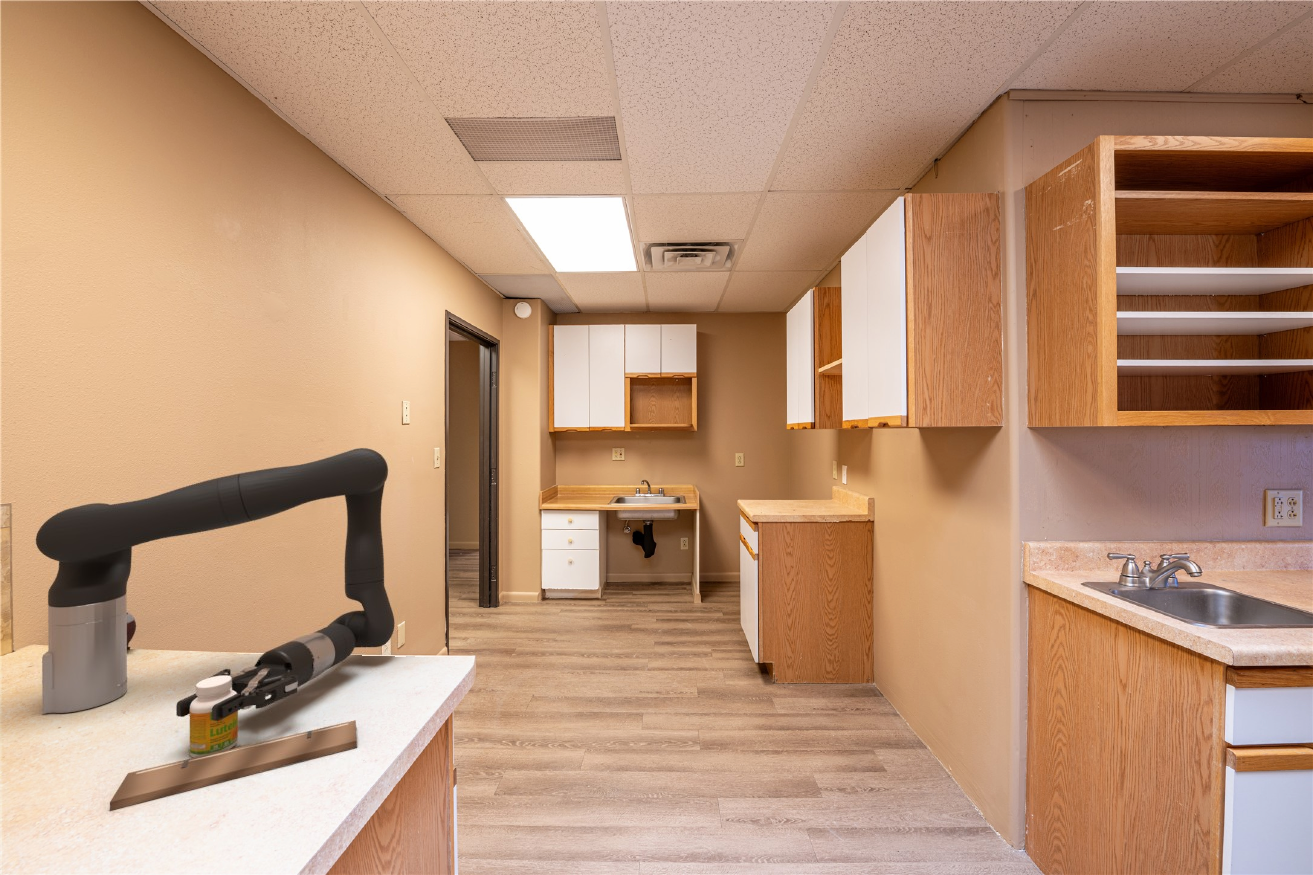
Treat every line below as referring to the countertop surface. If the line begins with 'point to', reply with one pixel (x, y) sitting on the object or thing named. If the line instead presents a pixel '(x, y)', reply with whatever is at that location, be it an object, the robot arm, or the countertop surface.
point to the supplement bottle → (202, 728)
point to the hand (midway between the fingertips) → (196, 711)
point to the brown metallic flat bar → (232, 764)
